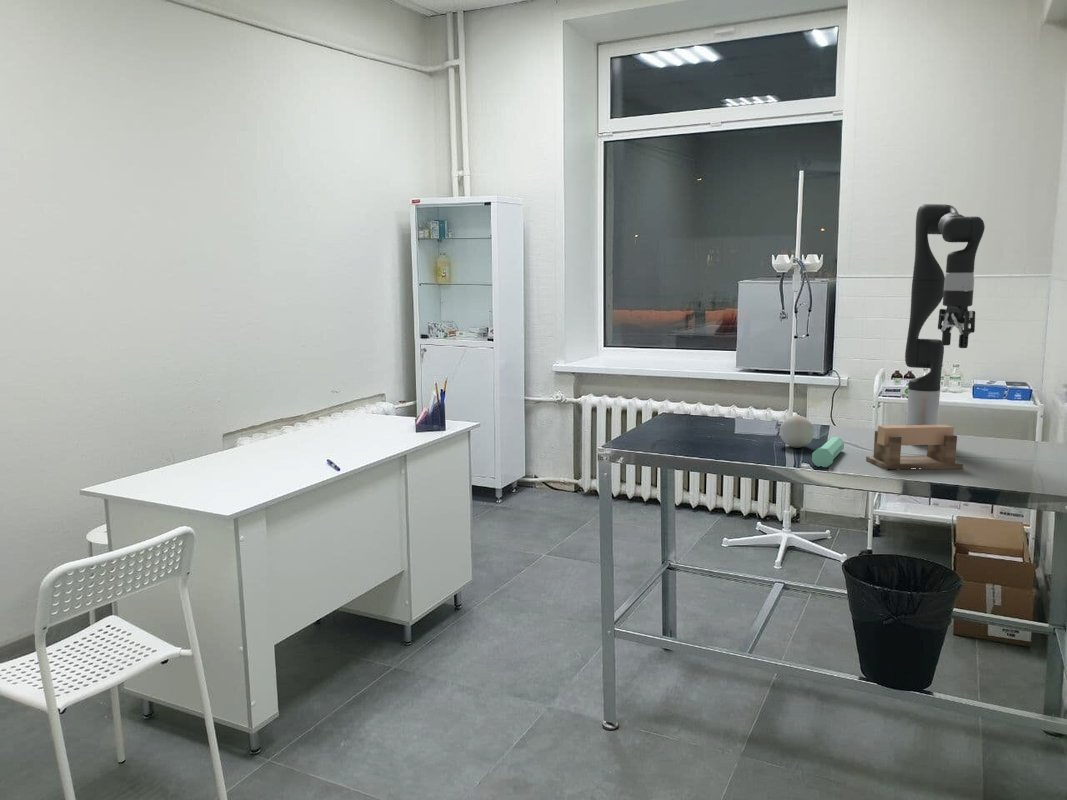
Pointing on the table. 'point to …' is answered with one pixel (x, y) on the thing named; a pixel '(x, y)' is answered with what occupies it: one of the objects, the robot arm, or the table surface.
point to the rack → (933, 460)
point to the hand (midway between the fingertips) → (954, 346)
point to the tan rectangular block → (914, 434)
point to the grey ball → (796, 431)
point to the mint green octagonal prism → (828, 452)
